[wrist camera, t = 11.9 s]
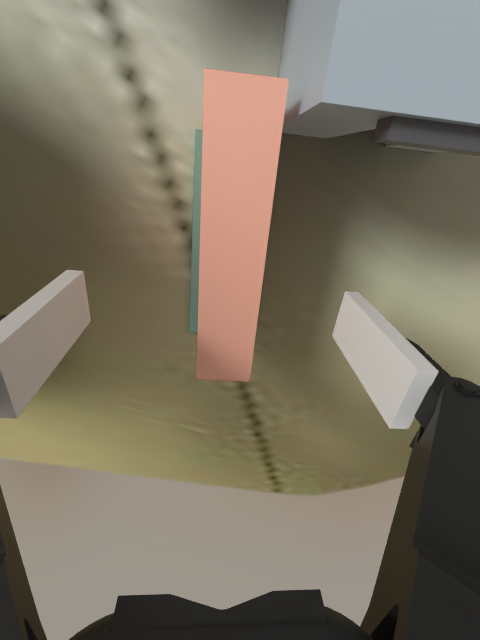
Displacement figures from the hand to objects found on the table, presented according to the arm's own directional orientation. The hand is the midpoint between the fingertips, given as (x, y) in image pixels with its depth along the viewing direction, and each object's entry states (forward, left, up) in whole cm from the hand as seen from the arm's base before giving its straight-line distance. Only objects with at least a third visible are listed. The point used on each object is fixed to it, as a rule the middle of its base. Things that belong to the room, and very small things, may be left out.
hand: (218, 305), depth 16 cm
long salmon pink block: (+1, +2, -12) cm, 12 cm away
